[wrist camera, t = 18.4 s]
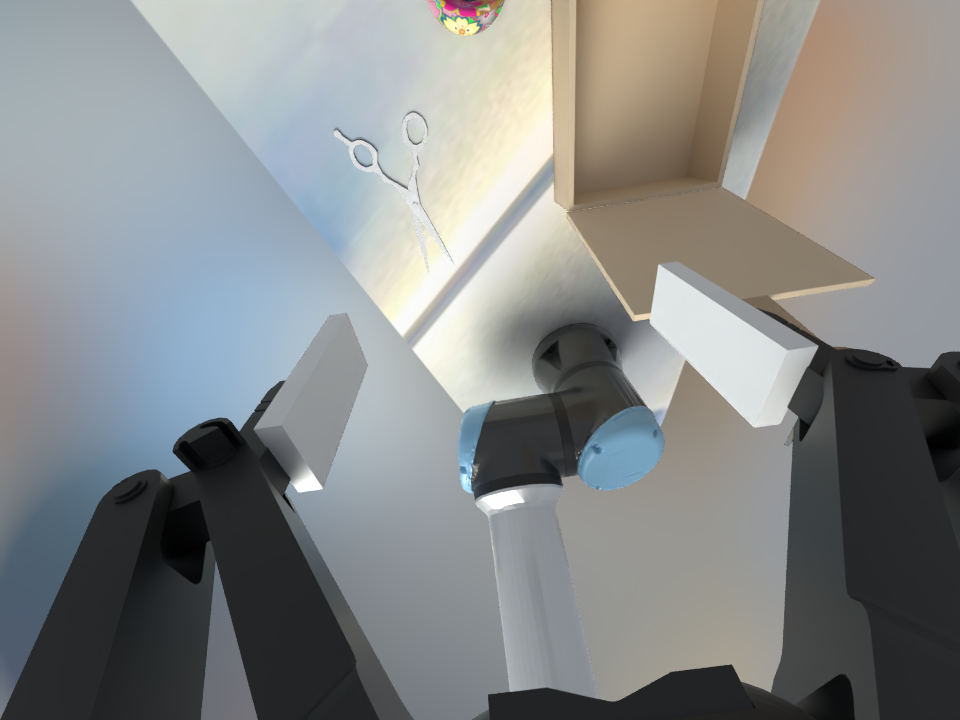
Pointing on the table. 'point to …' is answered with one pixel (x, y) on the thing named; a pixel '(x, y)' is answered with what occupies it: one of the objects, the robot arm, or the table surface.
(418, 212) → the scissors
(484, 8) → the mug
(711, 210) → the lid
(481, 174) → the table surface
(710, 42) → the box
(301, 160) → the table surface
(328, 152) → the table surface
